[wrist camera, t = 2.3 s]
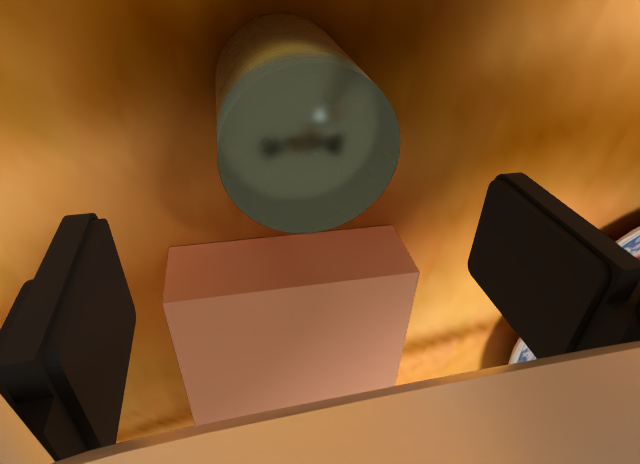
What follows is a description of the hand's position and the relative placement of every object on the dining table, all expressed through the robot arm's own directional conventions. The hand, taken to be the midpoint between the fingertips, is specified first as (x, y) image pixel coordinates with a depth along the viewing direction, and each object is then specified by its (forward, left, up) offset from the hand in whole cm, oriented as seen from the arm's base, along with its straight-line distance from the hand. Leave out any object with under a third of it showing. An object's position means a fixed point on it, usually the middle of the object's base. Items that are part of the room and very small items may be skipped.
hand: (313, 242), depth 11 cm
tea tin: (-1, -1, -10) cm, 10 cm away
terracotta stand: (-1, +13, -10) cm, 17 cm away
